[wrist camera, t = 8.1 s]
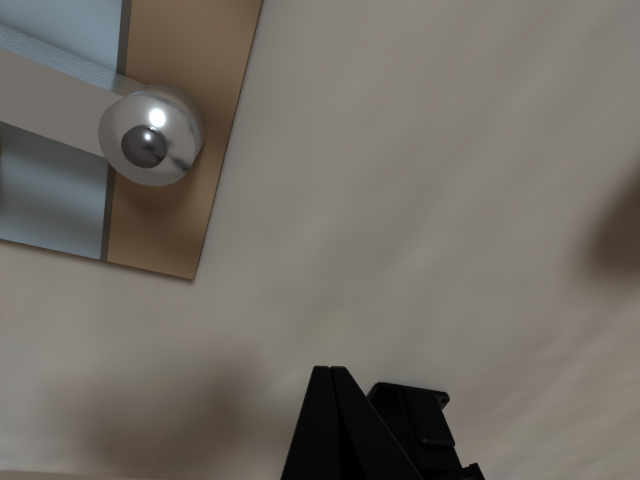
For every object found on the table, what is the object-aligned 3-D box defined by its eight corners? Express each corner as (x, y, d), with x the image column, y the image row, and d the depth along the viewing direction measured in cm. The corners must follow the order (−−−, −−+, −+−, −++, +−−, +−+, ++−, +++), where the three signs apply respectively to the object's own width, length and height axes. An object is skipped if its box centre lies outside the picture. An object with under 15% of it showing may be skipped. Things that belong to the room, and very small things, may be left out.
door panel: (197, 266, 21) (183, 313, 18) (-107, 199, 17) (-195, 242, 14) (281, -74, 13) (283, -100, 10) (-226, -323, 10) (-474, -488, 6)
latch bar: (215, 104, 15) (202, 124, 12) (194, 172, 16) (178, 203, 14) (-82, -24, 12) (-186, -34, 9) (-76, 73, 13) (-165, 89, 11)
